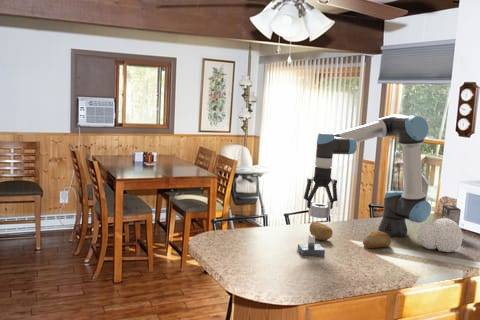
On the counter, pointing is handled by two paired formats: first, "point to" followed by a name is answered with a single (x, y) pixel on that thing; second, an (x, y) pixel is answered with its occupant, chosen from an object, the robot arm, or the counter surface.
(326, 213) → the hub
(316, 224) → the potato
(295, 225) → the counter surface
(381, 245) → the bread roll
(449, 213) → the coffee box
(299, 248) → the pillow block
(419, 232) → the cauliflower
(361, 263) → the counter surface
